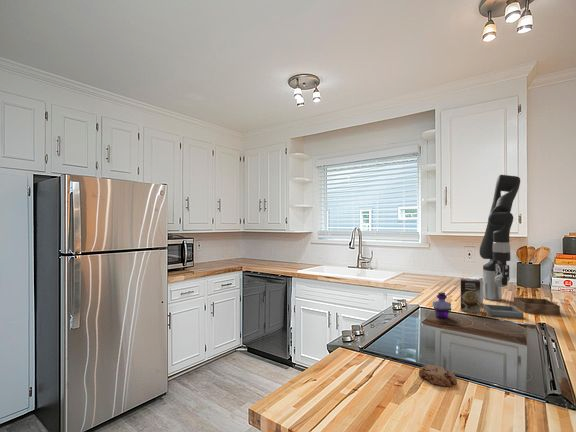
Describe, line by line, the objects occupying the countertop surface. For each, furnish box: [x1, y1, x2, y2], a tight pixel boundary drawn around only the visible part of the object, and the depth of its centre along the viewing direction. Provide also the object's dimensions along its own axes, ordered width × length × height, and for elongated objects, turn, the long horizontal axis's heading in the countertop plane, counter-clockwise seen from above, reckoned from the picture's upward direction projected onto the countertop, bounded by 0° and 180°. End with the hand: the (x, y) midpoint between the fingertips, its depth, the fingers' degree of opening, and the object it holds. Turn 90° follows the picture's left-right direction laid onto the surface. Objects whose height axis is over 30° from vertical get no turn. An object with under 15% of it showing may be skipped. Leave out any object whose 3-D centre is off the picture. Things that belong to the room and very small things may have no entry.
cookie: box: [418, 364, 458, 388], centre depth 96 cm, size 10×11×3 cm
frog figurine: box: [495, 274, 511, 288], centre depth 163 cm, size 6×7×7 cm
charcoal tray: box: [482, 303, 524, 319], centre depth 162 cm, size 14×14×3 cm
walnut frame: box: [513, 296, 561, 316], centre depth 169 cm, size 15×15×4 cm
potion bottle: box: [432, 291, 452, 320], centre depth 157 cm, size 9×9×12 cm
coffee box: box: [459, 278, 481, 314], centre depth 169 cm, size 9×6×16 cm
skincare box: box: [466, 275, 484, 305], centre depth 183 cm, size 8×6×15 cm
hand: (502, 283), depth 163 cm, fingers closed on frog figurine, 6 cm apart
